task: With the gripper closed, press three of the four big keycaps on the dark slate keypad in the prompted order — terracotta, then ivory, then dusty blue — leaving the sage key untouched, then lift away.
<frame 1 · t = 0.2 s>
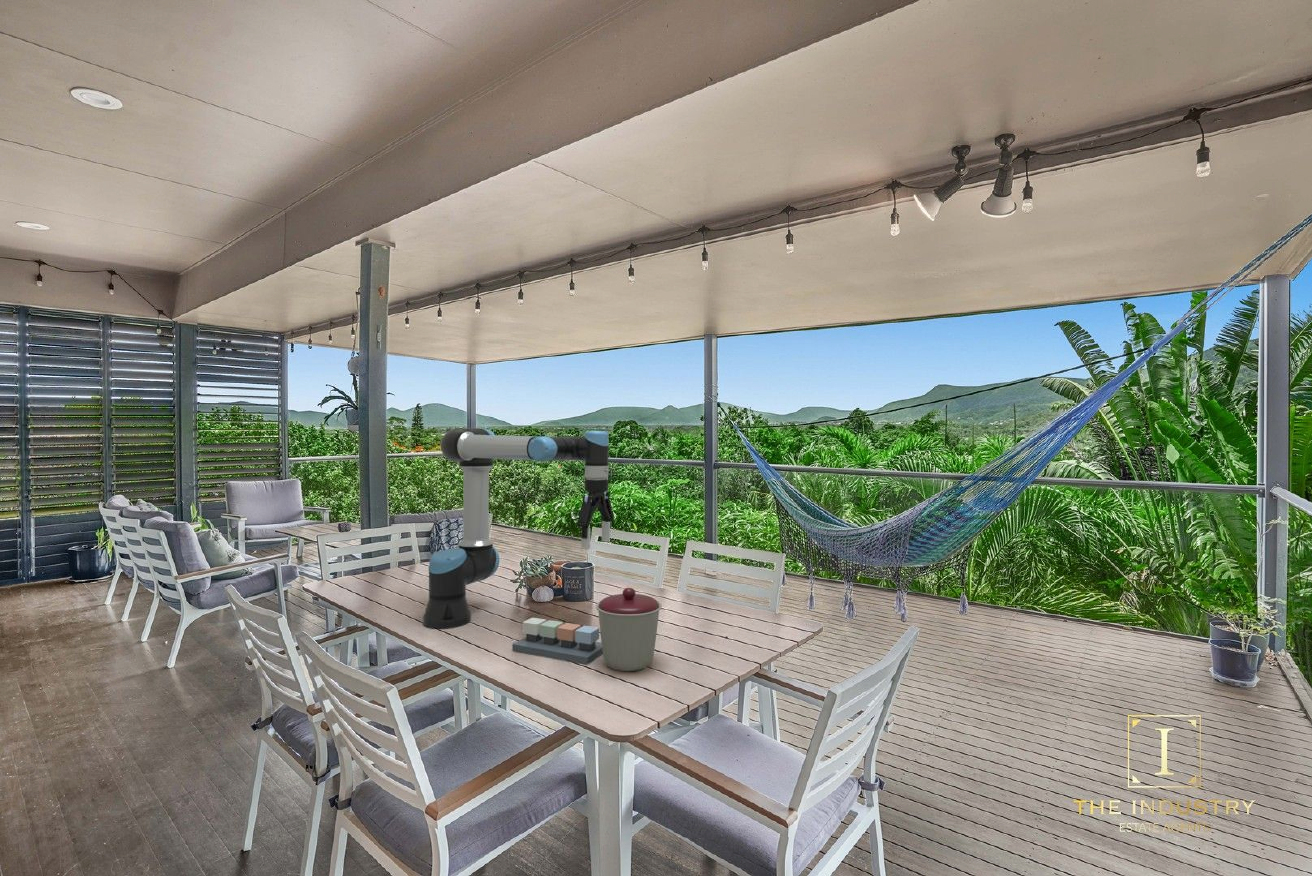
hand: (596, 545, 191), 28 cm above the table, fingers open, 13 cm apart
key terracotta: (569, 631, 173), point 6 cm above the table, slide at 0.0 cm
keypad board: (560, 650, 174), on the table
key blue: (587, 634, 170), point 6 cm above the table, slide at 0.0 cm
key sage: (551, 629, 175), point 6 cm above the table, slide at 0.0 cm
key ivory: (534, 626, 177), point 6 cm above the table, slide at 0.0 cm
canister: (628, 665, 164), on the table
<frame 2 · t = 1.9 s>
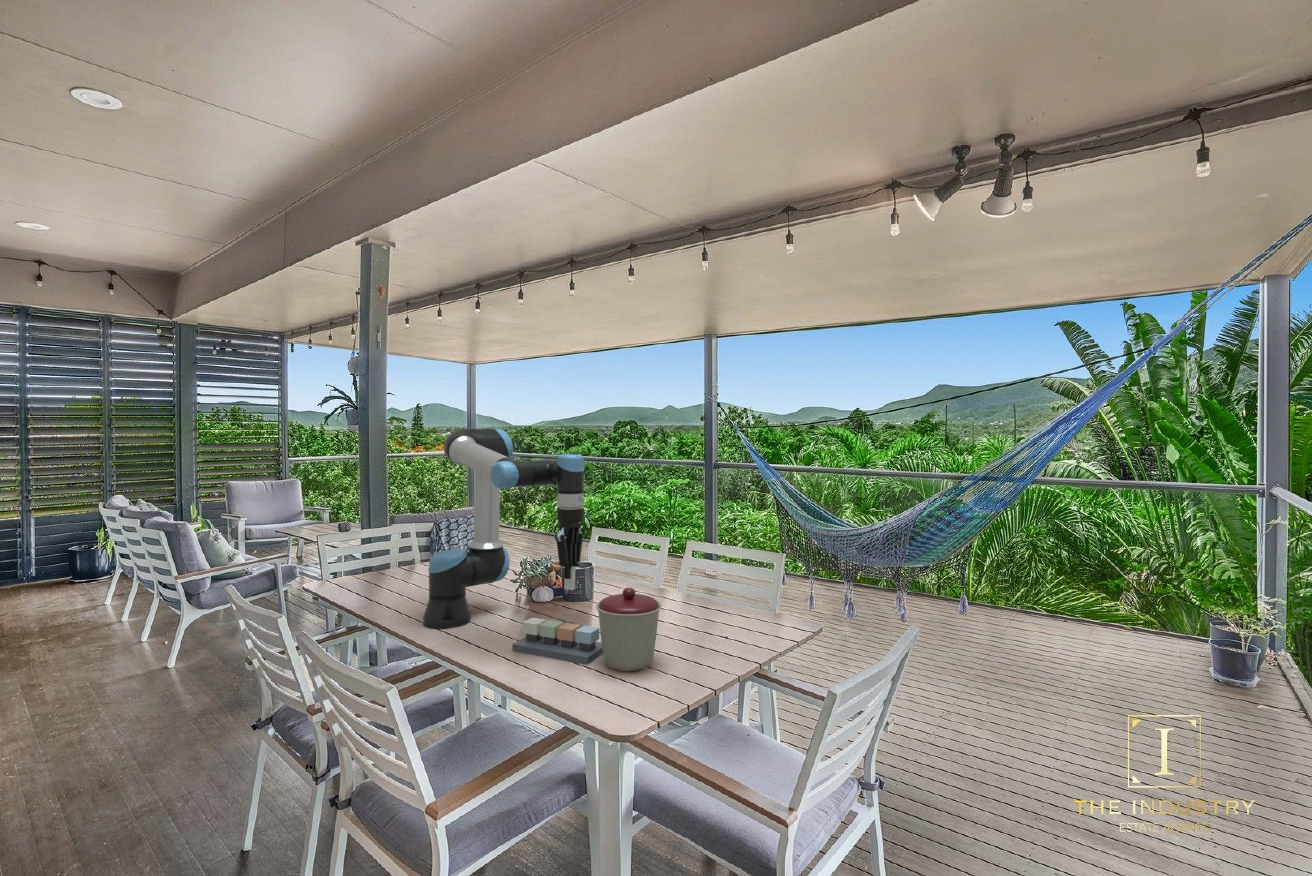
hand: (569, 589, 173), 18 cm above the table, fingers closed
nothing on the table moved.
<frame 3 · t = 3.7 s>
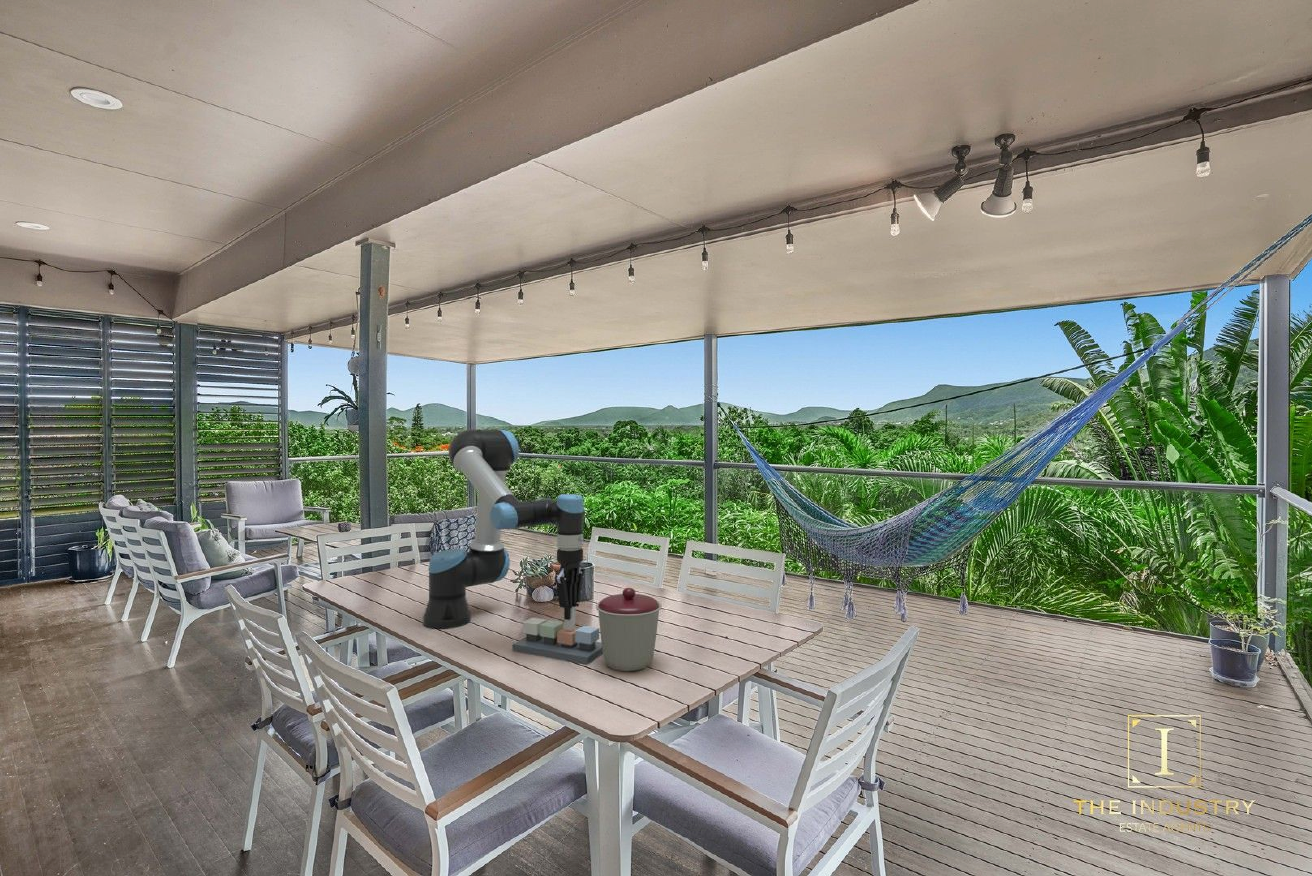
hand: (569, 629, 173), 7 cm above the table, fingers closed
key terracotta: (569, 635, 173), point 5 cm above the table, slide at 1.1 cm, touching gripper
everything else where it was.
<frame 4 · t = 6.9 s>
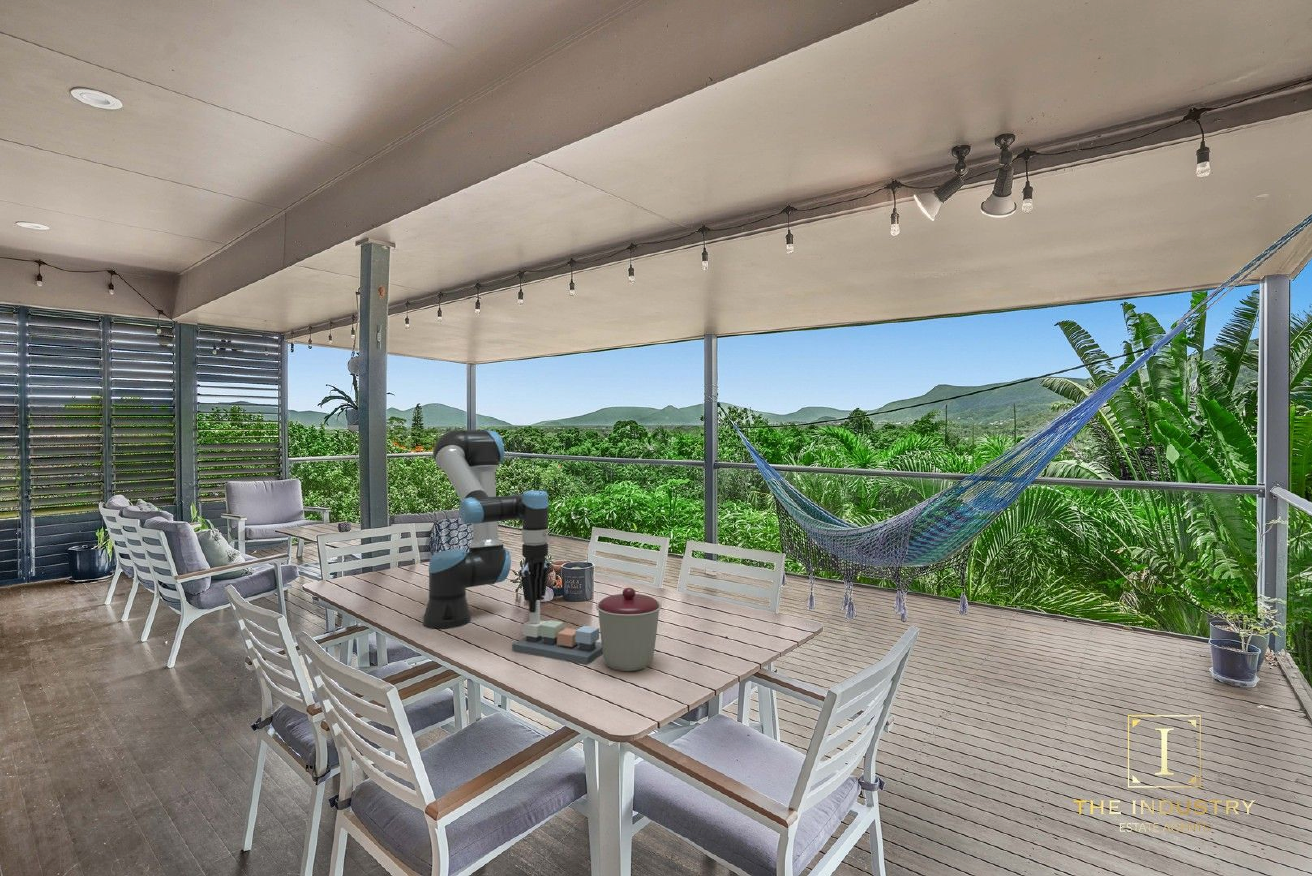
hand: (534, 622, 177), 7 cm above the table, fingers closed
key terracotta: (569, 637, 173), point 4 cm above the table, slide at 1.5 cm
key ivory: (534, 628, 177), point 5 cm above the table, slide at 0.6 cm, touching gripper
everything else where it was.
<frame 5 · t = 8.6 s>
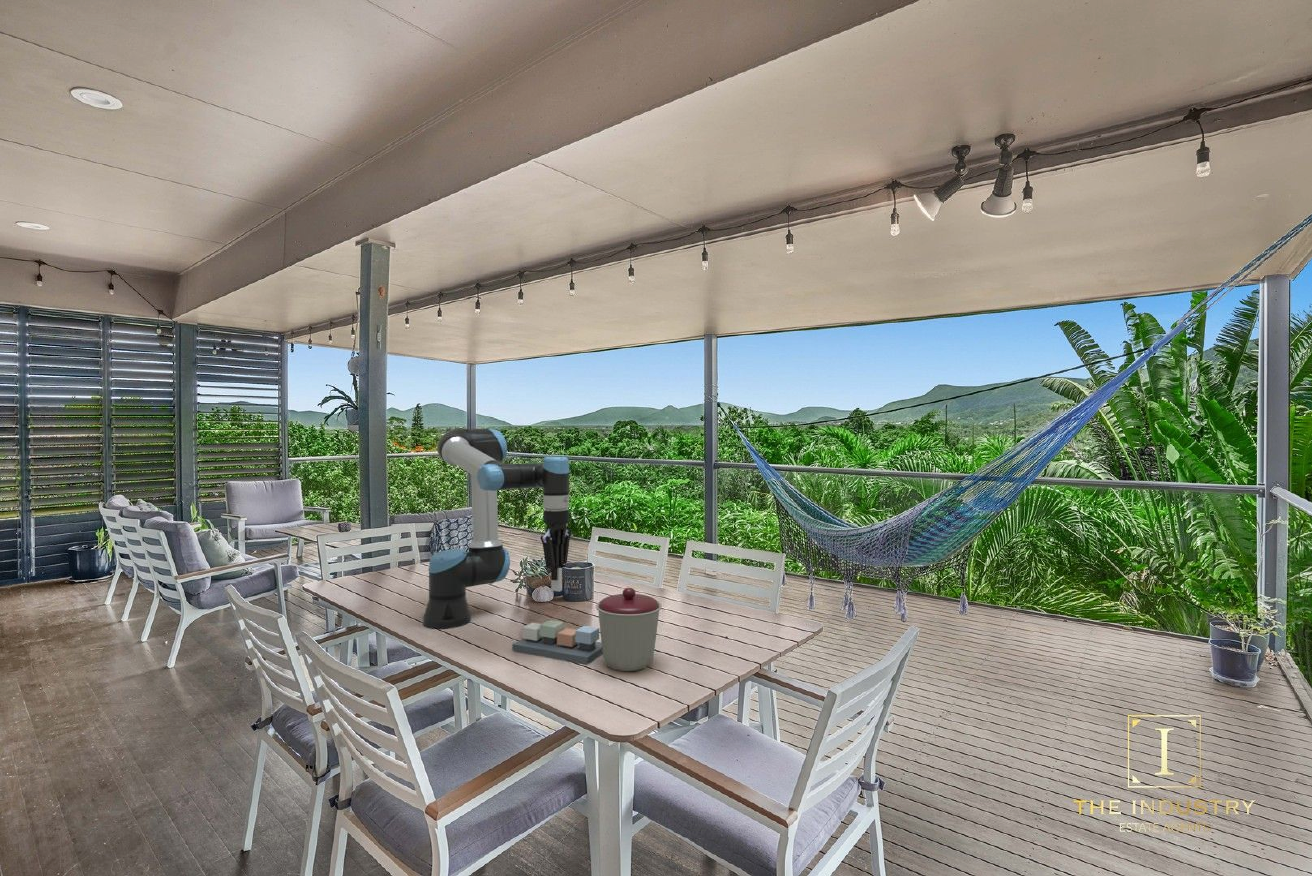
hand: (556, 590, 174), 18 cm above the table, fingers closed
key ivory: (534, 631, 177), point 4 cm above the table, slide at 1.6 cm
everything else where it was.
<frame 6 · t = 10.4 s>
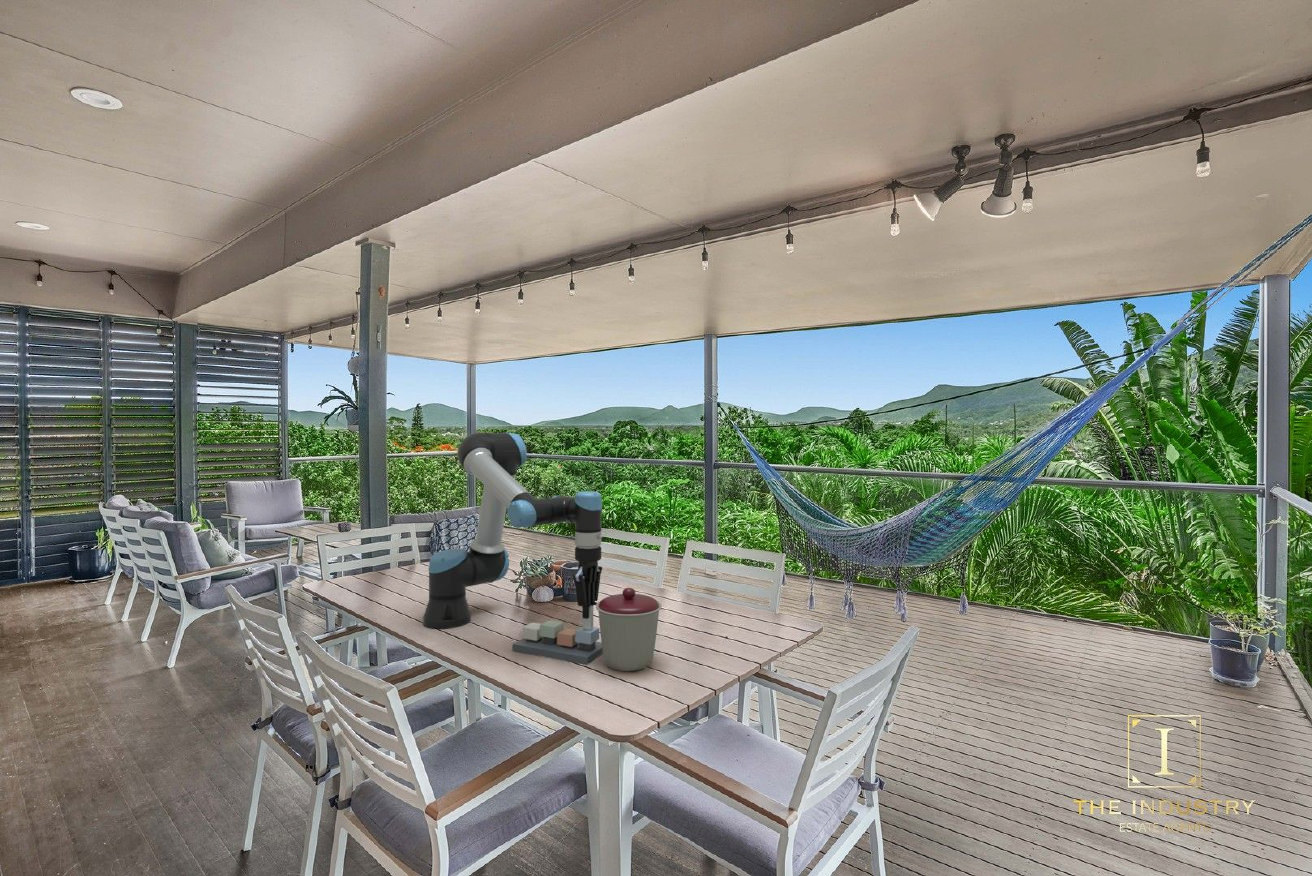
hand: (587, 628, 170), 8 cm above the table, fingers closed
key blue: (587, 634, 170), point 6 cm above the table, slide at 0.0 cm, touching gripper
everything else where it was.
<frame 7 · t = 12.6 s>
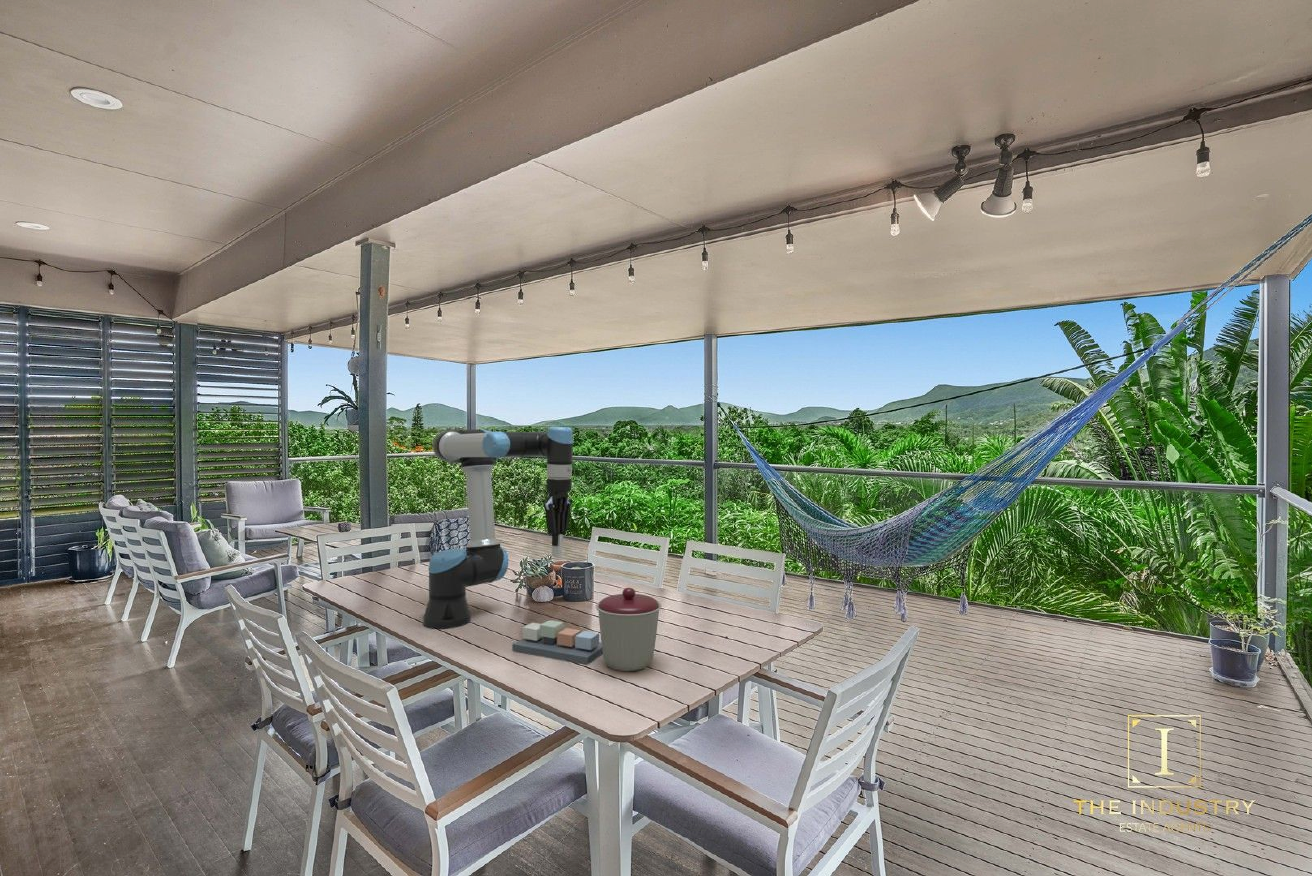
hand: (556, 555, 180), 26 cm above the table, fingers closed
key blue: (587, 640, 170), point 4 cm above the table, slide at 1.5 cm
everything else where it was.
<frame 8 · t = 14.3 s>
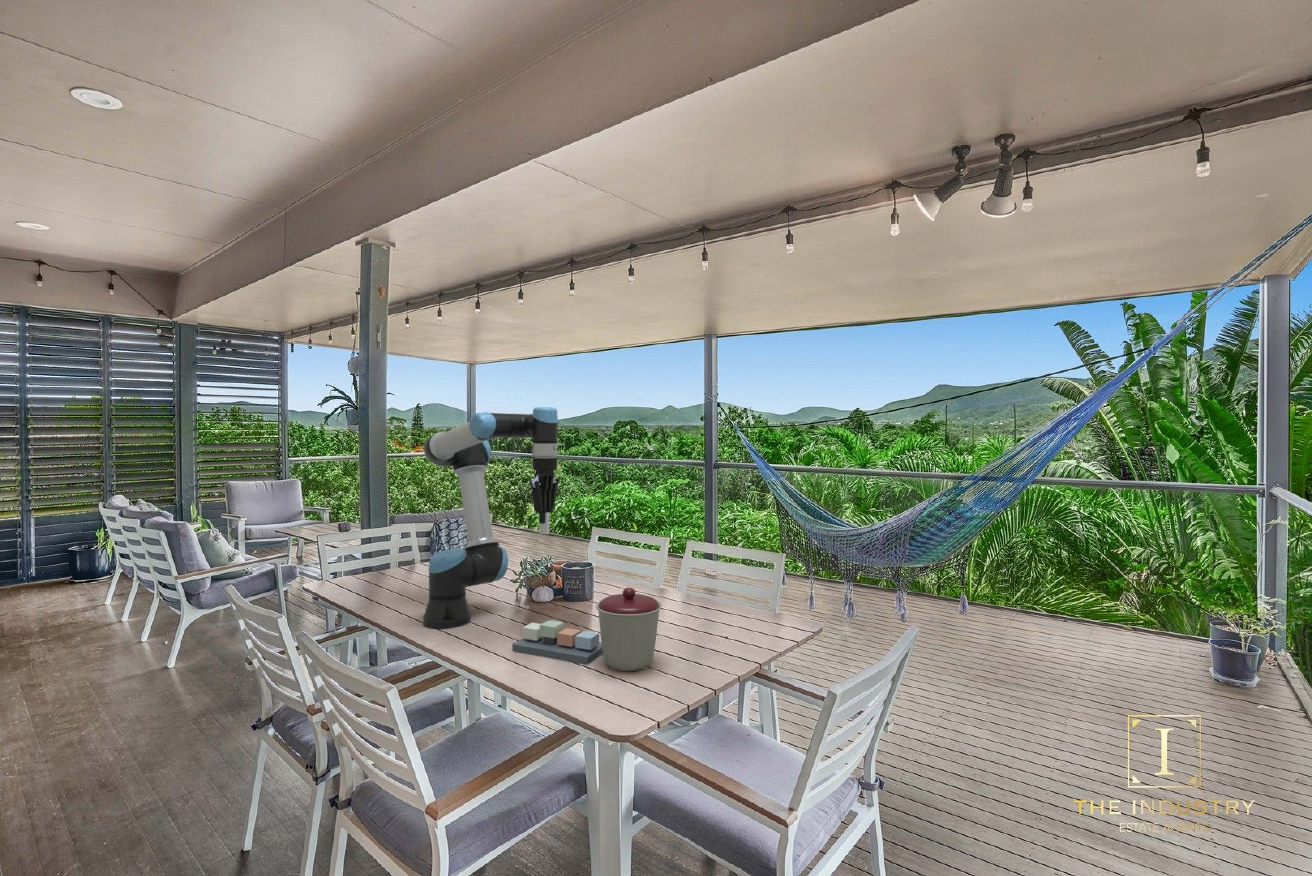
hand: (544, 533, 184), 32 cm above the table, fingers closed
nothing on the table moved.
at the end: key terracotta slide at 1.5 cm; key blue slide at 1.5 cm; key sage slide at 0.0 cm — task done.
